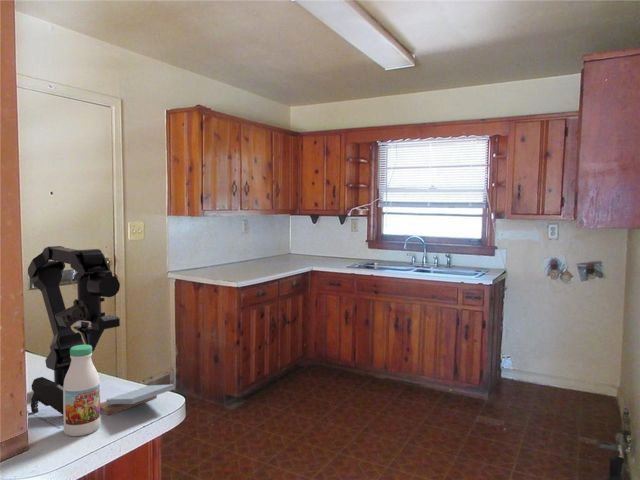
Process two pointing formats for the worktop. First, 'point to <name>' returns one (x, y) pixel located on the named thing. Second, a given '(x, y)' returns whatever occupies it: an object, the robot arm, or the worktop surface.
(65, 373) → the robot arm
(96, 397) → the milk bottle
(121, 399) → the flap door
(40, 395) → the gun
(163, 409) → the worktop surface
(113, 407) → the board
